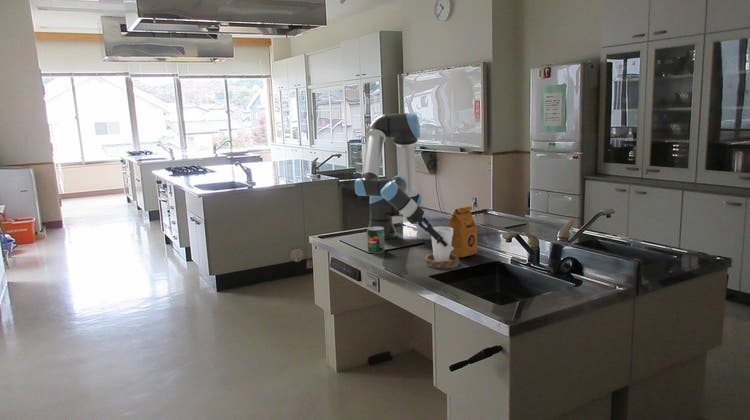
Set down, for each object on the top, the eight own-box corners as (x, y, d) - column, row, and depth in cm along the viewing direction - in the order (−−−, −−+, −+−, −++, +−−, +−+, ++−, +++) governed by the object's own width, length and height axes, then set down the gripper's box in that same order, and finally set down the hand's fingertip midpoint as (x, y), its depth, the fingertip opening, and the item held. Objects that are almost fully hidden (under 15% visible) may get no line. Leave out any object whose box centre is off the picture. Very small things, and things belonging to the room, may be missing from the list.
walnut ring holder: (422, 259, 235) (422, 253, 234) (454, 258, 236) (454, 252, 235) (428, 269, 221) (428, 262, 221) (461, 268, 222) (461, 261, 222)
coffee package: (480, 255, 241) (481, 206, 237) (462, 260, 234) (462, 210, 229) (463, 250, 249) (464, 203, 245) (445, 255, 241) (445, 207, 237)
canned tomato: (385, 249, 254) (385, 226, 252) (383, 253, 247) (383, 230, 245) (369, 248, 256) (368, 226, 254) (366, 253, 248) (365, 229, 246)
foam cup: (457, 259, 227) (457, 229, 224) (440, 263, 222) (440, 232, 219) (443, 254, 235) (443, 225, 232) (426, 258, 230) (426, 228, 227)
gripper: (402, 213, 235) (437, 247, 239) (409, 223, 213) (448, 260, 217) (414, 200, 234) (449, 234, 238) (422, 210, 212) (461, 247, 216)
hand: (449, 247), depth 228 cm, fingers closed on foam cup, 9 cm apart
